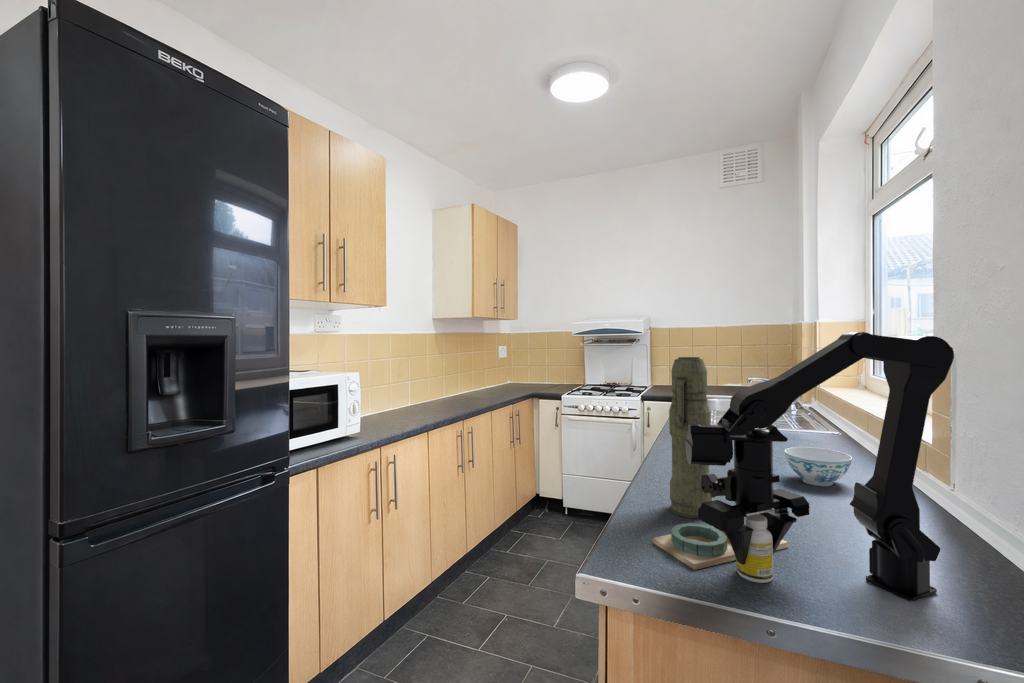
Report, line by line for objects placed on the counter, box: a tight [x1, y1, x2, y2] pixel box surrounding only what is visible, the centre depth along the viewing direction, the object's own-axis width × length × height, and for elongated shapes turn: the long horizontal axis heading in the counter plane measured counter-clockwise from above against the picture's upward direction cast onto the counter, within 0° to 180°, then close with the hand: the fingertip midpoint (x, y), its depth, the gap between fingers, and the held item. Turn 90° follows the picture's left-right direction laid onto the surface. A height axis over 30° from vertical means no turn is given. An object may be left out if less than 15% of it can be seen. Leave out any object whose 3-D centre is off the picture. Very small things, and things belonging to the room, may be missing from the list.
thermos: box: [668, 356, 713, 519], centre depth 103 cm, size 9×12×35 cm
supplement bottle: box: [736, 514, 774, 584], centre depth 75 cm, size 5×5×10 cm
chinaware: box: [784, 446, 853, 487], centre depth 121 cm, size 15×15×8 cm
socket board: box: [652, 522, 789, 571], centre depth 86 cm, size 11×22×3 cm, turn 110°
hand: (754, 560), depth 75 cm, fingers open, 6 cm apart
